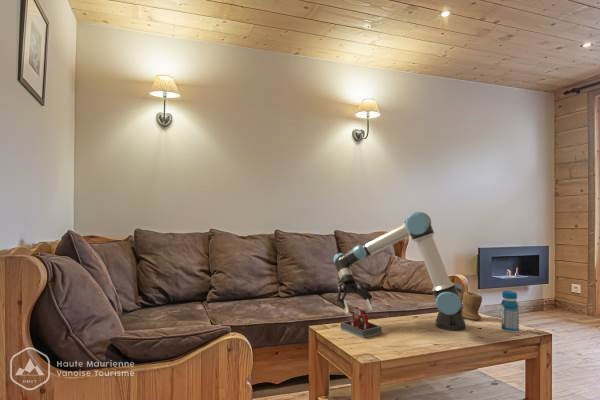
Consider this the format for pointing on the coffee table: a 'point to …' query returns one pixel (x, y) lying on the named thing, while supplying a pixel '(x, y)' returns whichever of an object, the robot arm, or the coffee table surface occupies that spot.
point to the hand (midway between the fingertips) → (359, 311)
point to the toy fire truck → (360, 319)
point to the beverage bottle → (510, 312)
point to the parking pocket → (361, 332)
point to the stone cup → (471, 305)
